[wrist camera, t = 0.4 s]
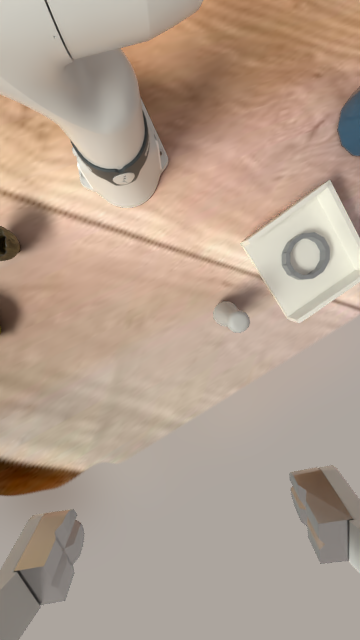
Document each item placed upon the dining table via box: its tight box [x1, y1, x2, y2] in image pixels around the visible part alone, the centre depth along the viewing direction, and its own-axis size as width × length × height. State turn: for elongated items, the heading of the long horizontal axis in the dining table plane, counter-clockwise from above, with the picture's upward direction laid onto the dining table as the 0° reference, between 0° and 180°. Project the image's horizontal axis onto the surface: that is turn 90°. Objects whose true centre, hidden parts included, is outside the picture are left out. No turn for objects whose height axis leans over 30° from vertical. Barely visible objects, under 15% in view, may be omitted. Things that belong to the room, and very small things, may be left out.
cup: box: [0, 226, 20, 261], centre depth 45 cm, size 8×7×8 cm
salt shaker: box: [213, 301, 250, 333], centre depth 48 cm, size 6×6×13 cm
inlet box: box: [240, 180, 360, 323], centre depth 50 cm, size 20×22×5 cm
